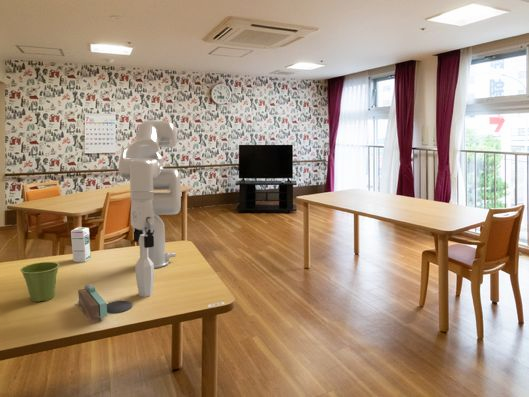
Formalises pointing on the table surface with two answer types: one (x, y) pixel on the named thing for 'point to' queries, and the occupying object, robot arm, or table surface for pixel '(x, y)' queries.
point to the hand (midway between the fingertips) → (143, 244)
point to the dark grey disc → (118, 306)
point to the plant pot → (40, 280)
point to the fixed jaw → (88, 304)
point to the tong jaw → (98, 301)
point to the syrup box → (81, 244)
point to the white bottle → (144, 271)
